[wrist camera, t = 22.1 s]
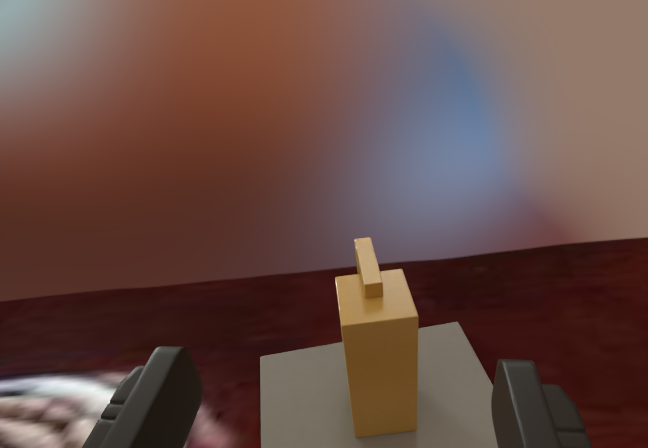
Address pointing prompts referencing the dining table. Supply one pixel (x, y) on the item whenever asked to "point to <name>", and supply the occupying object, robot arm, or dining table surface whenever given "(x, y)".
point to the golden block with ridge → (379, 346)
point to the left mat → (335, 410)
